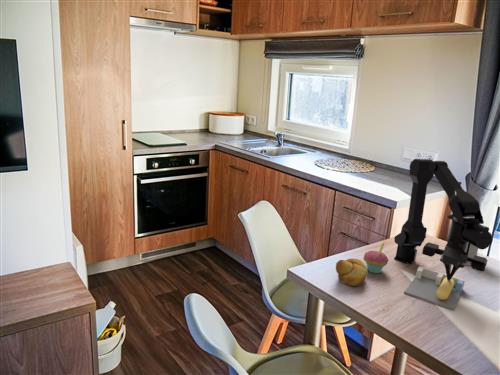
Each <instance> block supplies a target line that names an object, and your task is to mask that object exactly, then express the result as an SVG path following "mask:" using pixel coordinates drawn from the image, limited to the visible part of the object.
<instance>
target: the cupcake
mask: <svg viewBox="0 0 500 375" xmlns="http://www.w3.org/2000/svg"><path fill="white" fill-rule="evenodd" d="M384 245H385V241H383V242H382V243H381V246H380V249H379V250H369V251H366V252H364V254H363V258H362V259H363V262H365V265H366V267H367V270H368V271H369V272H371V273H373V274H379V273H381V272H382V270H383V269H384V267H385V266H387V265H388V262H389V258H388V257H387V255H386V254H385V253H383V252H382V251H383V249H384Z"/></svg>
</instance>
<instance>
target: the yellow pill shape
mask: <svg viewBox="0 0 500 375" xmlns="http://www.w3.org/2000/svg"><path fill="white" fill-rule="evenodd" d="M454 284H455V282H454V280H453V279H452V278H451V280H447V277H446V278H445V279H444V280H443V281H442V283H441V285H440V287H439V288H438V290H437V292H436V295H437V297H438V298H439V299H440V300H446V299H447V298H448V296H449V294H450V292H451V290H452V288H453V286H454Z"/></svg>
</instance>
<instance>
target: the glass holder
mask: <svg viewBox="0 0 500 375" xmlns="http://www.w3.org/2000/svg"><path fill="white" fill-rule="evenodd" d="M478 251H479V248H477V247H475V246H474V245H472V244H470V243H467V247H466V251H465V252H467V253H468V257H471V258H473V257H474V255H477V256H478ZM465 266H471V264H470V263H466V264H465Z"/></svg>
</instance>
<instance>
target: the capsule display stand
mask: <svg viewBox="0 0 500 375" xmlns="http://www.w3.org/2000/svg"><path fill="white" fill-rule="evenodd" d="M415 273H416V274H415V276H414V278H413V280H412V281H411V282H410V283H409V285H408V286H407V287H406V289H405V290H404V292H403V294H405V295H407V294H408V296H410V295H411V296H410V297H414V298H417V299H419V300H422V301H425V302H428V303H431V304H434V305H437V306H438V307H439V306H440V307H442V308H444V309H448V310H451V311H454V310H455V308H456V306H457V304H458V301H459V299H460V296H461V294H462V293H463V290H464V286H465V282H466V280H465V279H462V278H460V277H459V278H458V277H456V276H453V277H452V279H453V280H454V282H455V284H454V286H453V288H452V290H451V292H450V294H449V296H448V298H447V299H446V300H440V299H439V298H438V297H437V295H436V292H437V290H438V288H439V287H440V285H441V283H442V281H443V280H444V279H445V278H446V277H447V275H446V273H443V272H439V271H437V270H434V269H430V268H427V267H423V266H420V265H419V266H418V268H417V269H416V272H415Z"/></svg>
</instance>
